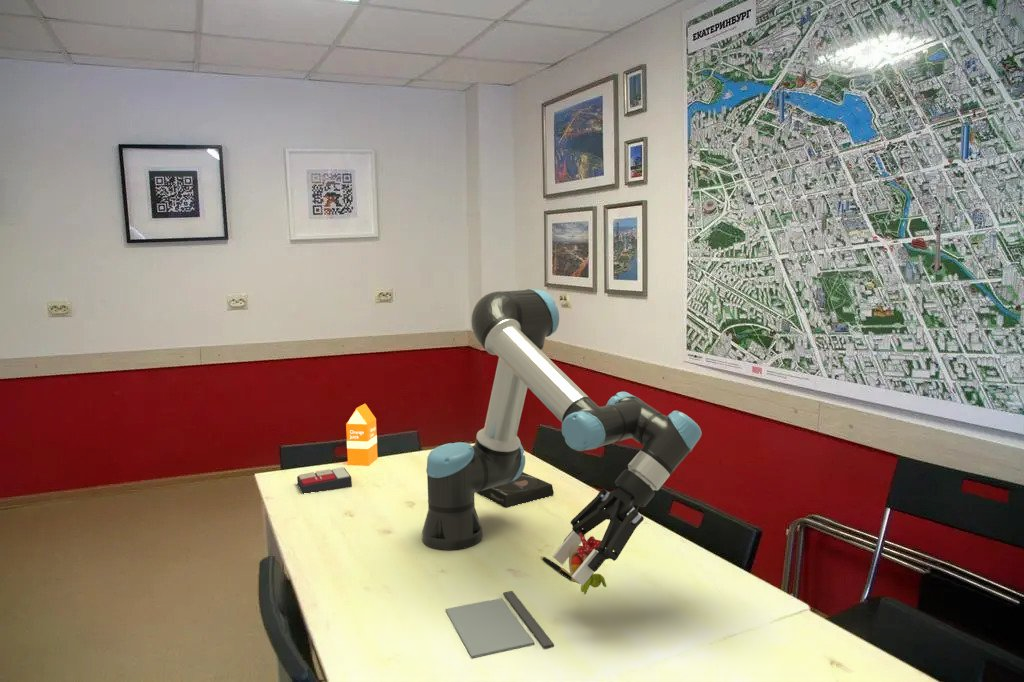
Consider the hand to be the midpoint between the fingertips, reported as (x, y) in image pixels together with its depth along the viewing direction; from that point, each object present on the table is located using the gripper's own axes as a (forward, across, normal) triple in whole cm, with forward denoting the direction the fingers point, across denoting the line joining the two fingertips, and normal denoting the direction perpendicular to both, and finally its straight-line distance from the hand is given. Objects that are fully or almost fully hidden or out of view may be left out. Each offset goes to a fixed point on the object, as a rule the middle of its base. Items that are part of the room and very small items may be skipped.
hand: (566, 570), depth 134 cm
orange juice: (+24, +125, +6) cm, 127 cm away
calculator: (+35, +104, +16) cm, 111 cm away
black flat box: (-3, +73, -20) cm, 76 cm away
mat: (+17, +4, +2) cm, 17 cm away
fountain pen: (+3, +22, -13) cm, 26 cm away
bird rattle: (0, 0, -5) cm, 5 cm away
